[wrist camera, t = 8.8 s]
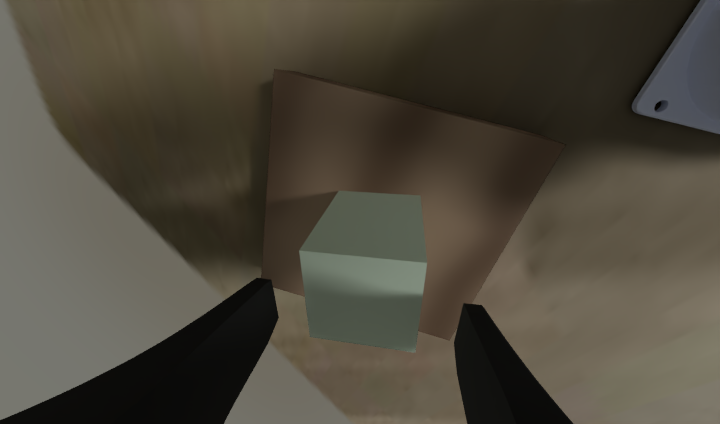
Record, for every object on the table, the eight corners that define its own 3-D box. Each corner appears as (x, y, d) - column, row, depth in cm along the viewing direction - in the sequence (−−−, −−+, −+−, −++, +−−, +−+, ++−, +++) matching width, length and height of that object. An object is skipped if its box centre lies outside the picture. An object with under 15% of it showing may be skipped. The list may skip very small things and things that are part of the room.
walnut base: (541, 135, 14) (566, 144, 12) (445, 312, 20) (449, 340, 18) (294, 71, 15) (274, 69, 13) (276, 262, 21) (260, 283, 19)
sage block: (420, 195, 14) (427, 263, 9) (413, 263, 16) (415, 352, 11) (339, 190, 15) (299, 250, 9) (341, 256, 17) (309, 336, 11)
